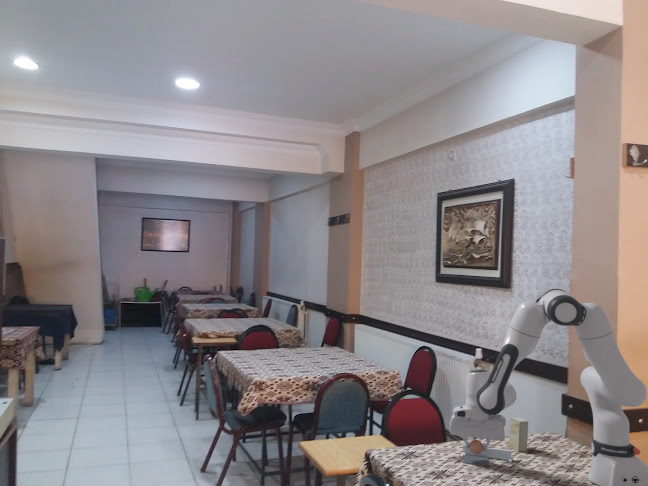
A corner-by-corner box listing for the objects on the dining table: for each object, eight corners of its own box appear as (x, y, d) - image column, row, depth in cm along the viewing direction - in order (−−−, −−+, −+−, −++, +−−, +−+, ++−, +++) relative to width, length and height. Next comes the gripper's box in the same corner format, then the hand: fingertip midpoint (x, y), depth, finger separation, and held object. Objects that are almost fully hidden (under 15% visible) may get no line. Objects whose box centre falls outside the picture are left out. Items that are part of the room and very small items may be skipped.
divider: (510, 457, 200) (510, 448, 201) (511, 462, 196) (511, 453, 196) (462, 451, 205) (462, 442, 205) (462, 456, 200) (462, 446, 200)
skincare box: (508, 446, 213) (509, 416, 214) (517, 445, 215) (518, 416, 215) (518, 452, 207) (519, 421, 208) (528, 451, 209) (528, 420, 209)
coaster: (488, 458, 199) (488, 457, 199) (489, 466, 191) (489, 465, 191) (464, 454, 202) (464, 454, 202) (464, 463, 193) (464, 462, 193)
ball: (482, 452, 198) (483, 438, 198) (483, 456, 193) (483, 443, 193) (469, 450, 199) (469, 437, 199) (469, 454, 194) (469, 441, 194)
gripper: (505, 413, 197) (504, 449, 196) (450, 407, 202) (449, 442, 202) (506, 417, 191) (505, 455, 190) (449, 411, 196) (448, 448, 196)
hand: (476, 449), depth 196 cm, fingers closed on ball, 5 cm apart
